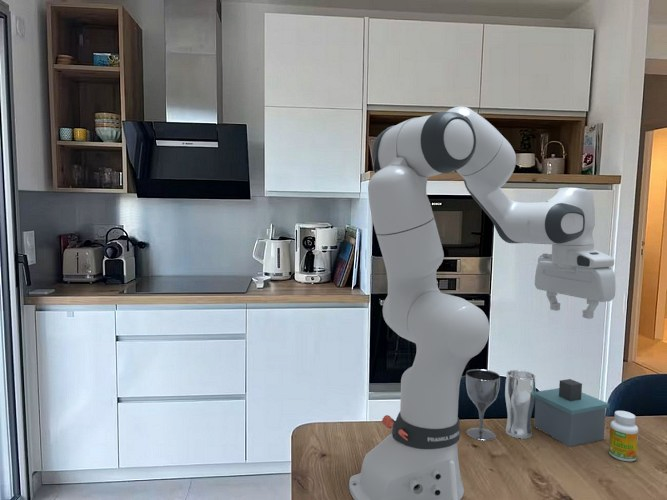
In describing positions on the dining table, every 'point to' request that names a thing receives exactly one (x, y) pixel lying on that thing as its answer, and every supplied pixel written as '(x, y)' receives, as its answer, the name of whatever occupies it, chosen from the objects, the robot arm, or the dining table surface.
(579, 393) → the lid
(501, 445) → the dining table surface
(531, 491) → the dining table surface
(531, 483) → the dining table surface
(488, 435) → the wine glass
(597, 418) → the storage box
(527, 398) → the beer glass
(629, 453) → the supplement bottle
